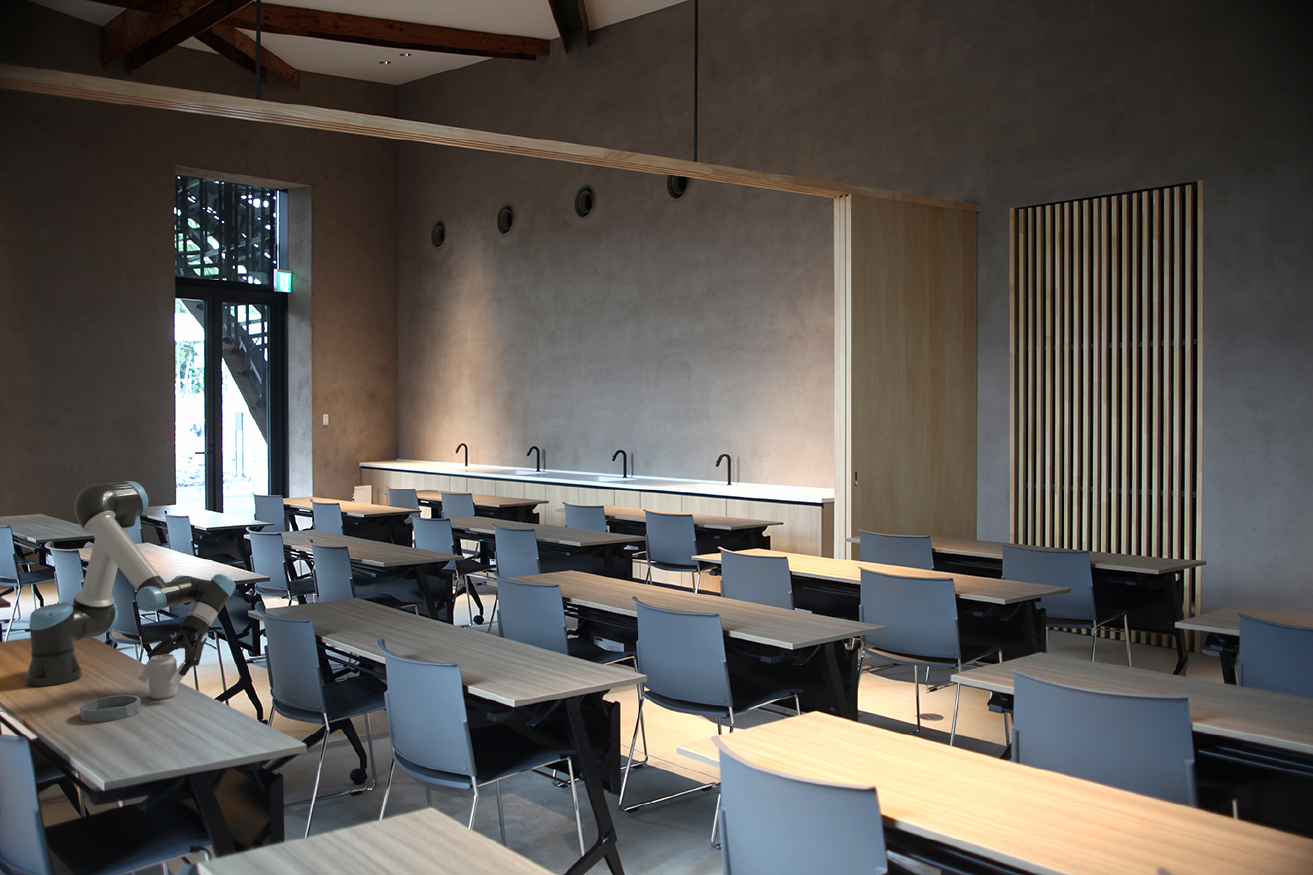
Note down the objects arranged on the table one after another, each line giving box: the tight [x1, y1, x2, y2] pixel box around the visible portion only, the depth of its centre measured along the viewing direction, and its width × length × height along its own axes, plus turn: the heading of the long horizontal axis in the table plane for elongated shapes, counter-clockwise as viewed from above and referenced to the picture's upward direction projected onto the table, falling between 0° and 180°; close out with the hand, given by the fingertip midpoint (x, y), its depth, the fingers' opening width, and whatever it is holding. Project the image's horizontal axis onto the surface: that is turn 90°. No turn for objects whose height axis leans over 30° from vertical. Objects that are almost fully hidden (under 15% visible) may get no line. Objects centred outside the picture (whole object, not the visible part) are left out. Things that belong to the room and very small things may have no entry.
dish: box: [79, 694, 142, 723], centre depth 276 cm, size 14×14×3 cm
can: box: [148, 653, 179, 700], centre depth 292 cm, size 8×8×12 cm
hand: (156, 682), depth 290 cm, fingers open, 13 cm apart
